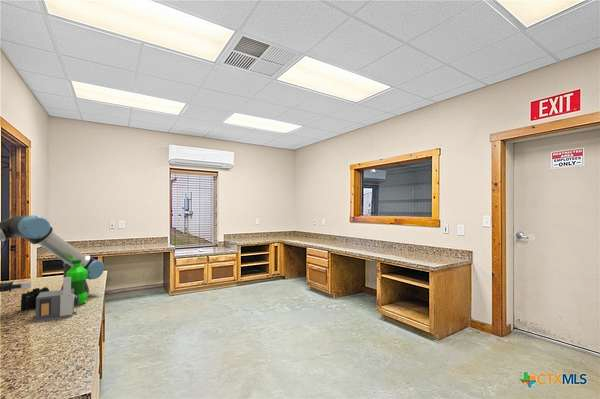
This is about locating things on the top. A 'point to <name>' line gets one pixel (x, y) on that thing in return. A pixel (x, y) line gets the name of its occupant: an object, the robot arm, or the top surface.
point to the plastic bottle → (78, 280)
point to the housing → (51, 305)
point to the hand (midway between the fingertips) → (30, 284)
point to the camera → (31, 298)
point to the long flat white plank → (66, 298)
